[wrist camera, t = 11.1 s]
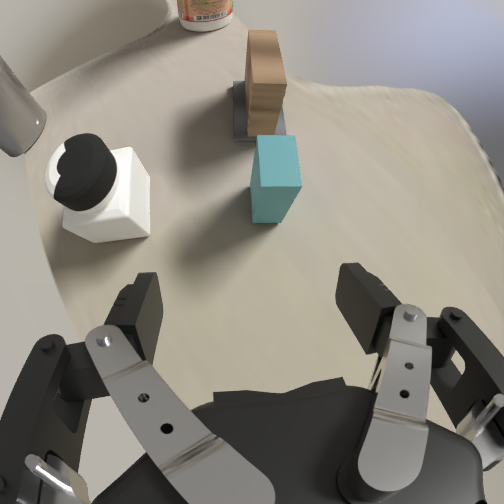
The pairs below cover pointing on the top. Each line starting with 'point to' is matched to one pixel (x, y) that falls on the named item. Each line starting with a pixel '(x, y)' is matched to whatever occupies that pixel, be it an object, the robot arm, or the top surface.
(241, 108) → the brown block
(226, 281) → the top surface
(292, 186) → the teal block
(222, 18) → the fruit juice
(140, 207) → the medicine bottle
